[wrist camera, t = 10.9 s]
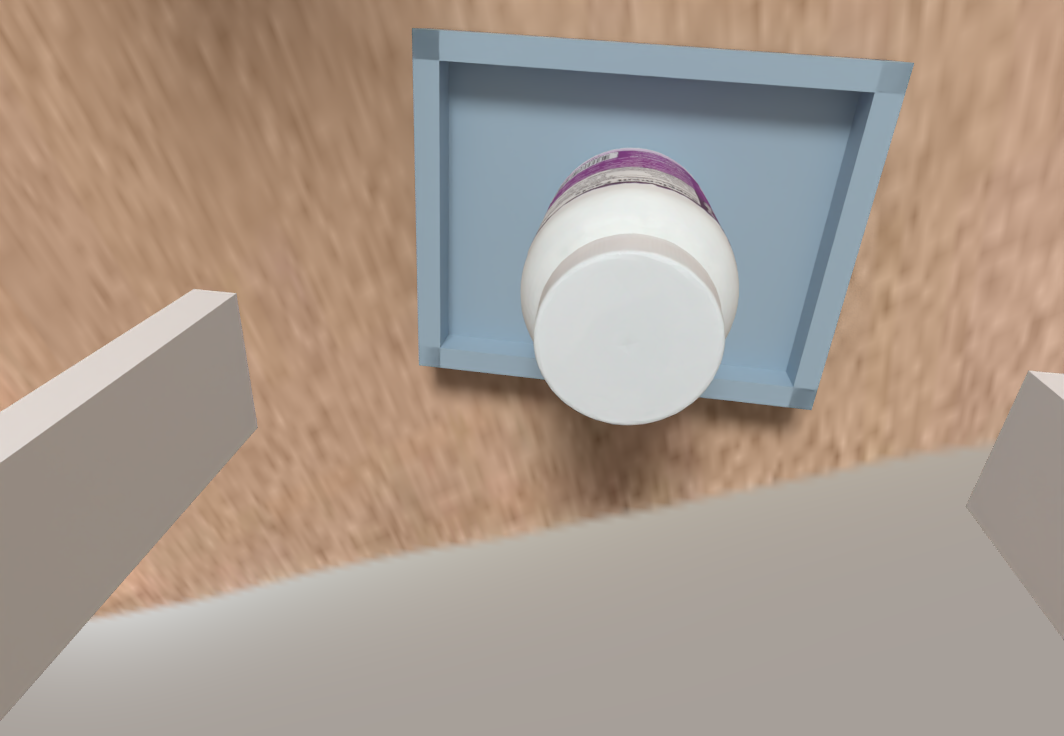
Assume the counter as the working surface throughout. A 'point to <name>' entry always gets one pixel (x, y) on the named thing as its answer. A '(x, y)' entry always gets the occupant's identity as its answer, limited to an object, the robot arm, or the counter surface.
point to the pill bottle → (629, 289)
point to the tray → (673, 130)
